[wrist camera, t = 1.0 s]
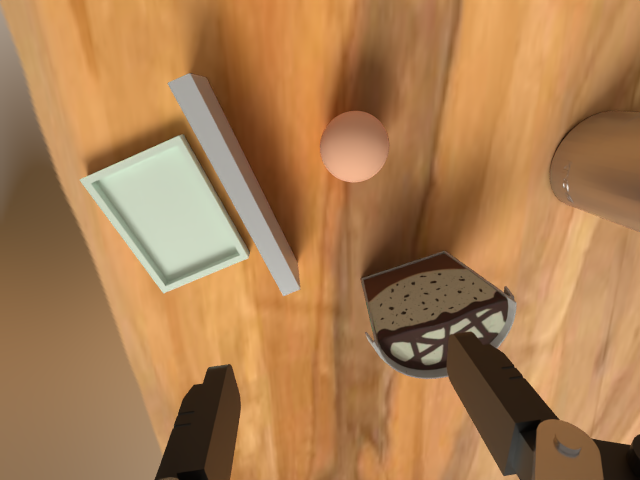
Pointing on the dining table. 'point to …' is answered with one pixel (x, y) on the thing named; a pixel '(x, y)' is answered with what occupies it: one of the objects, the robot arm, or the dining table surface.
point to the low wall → (236, 177)
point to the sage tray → (168, 214)
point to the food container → (432, 312)
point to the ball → (354, 146)
